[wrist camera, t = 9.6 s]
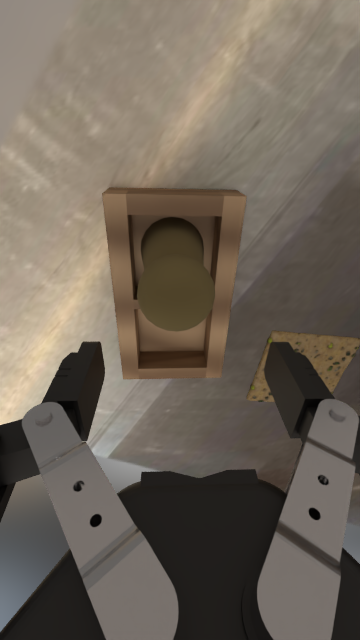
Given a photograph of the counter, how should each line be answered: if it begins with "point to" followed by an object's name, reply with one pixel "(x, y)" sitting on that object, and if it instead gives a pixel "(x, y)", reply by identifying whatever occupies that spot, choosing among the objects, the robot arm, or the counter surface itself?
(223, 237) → the caddy
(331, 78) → the counter surface
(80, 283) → the counter surface
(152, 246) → the olive game pawn
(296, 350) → the tan speckled flat square
